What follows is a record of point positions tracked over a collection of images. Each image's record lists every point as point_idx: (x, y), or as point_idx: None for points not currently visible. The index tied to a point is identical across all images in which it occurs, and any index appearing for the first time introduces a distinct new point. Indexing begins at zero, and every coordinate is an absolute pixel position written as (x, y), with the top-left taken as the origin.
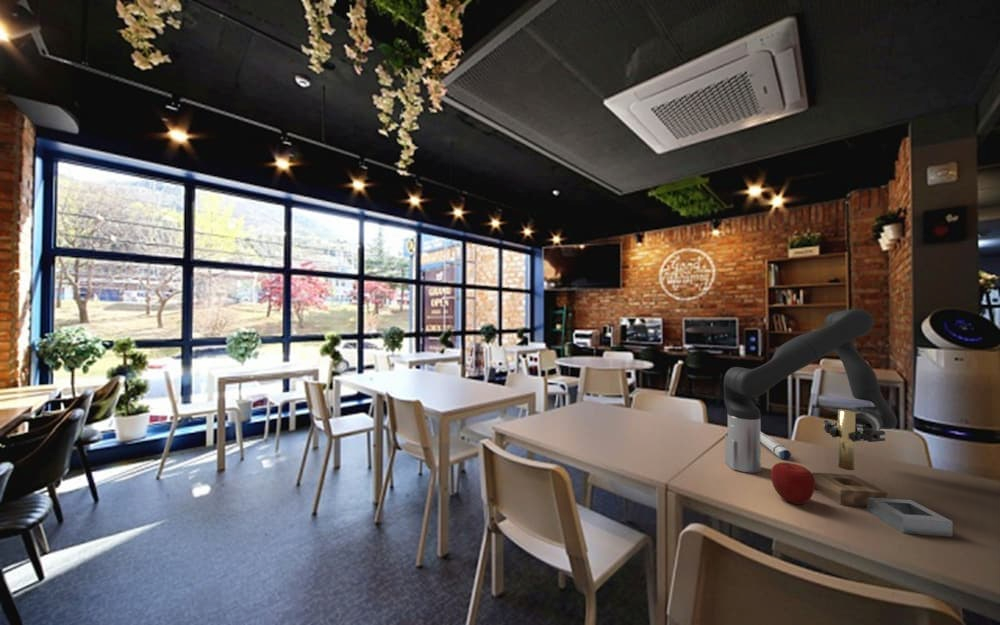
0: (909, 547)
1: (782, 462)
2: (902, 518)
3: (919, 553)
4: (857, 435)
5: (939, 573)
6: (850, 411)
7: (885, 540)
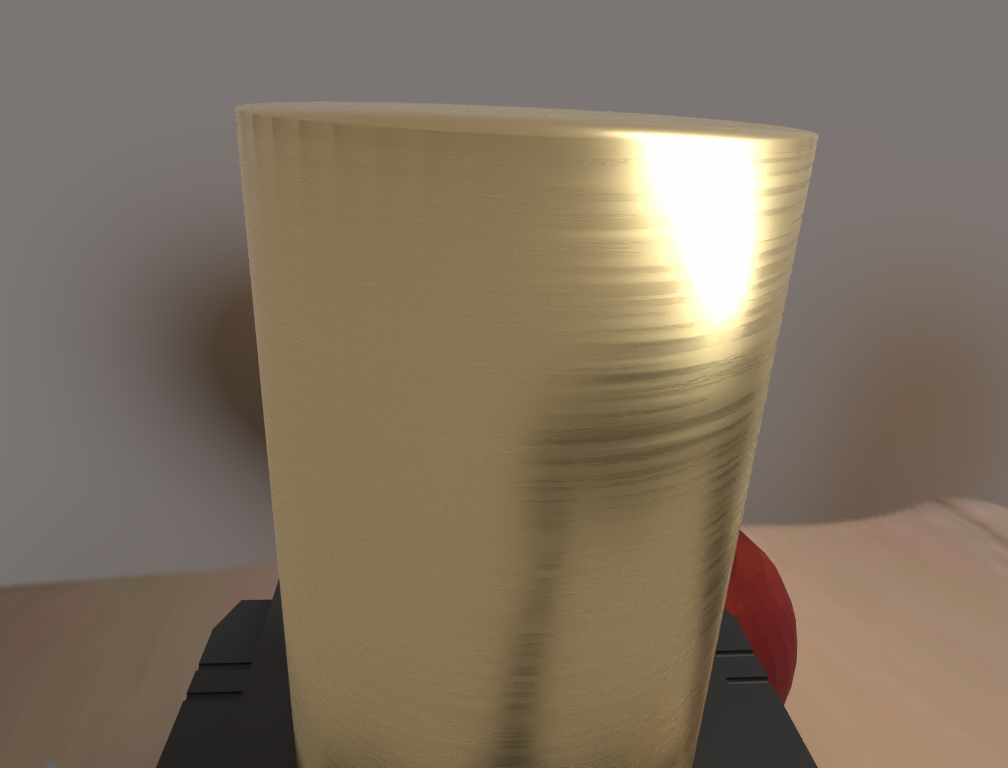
0: (98, 690)
1: (764, 581)
2: (55, 765)
3: (72, 668)
4: (255, 610)
5: (58, 582)
6: (407, 114)
7: (192, 675)
